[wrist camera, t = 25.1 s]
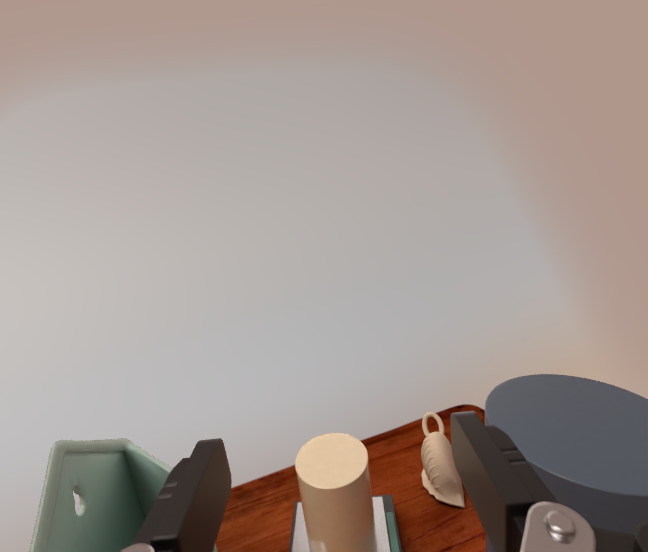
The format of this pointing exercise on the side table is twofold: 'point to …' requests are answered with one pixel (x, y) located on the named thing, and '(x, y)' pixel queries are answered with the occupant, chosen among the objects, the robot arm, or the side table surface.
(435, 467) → the decorative ornament
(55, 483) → the planter
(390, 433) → the side table surface
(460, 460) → the robot arm
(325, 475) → the canister
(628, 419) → the stand
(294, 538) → the scale
